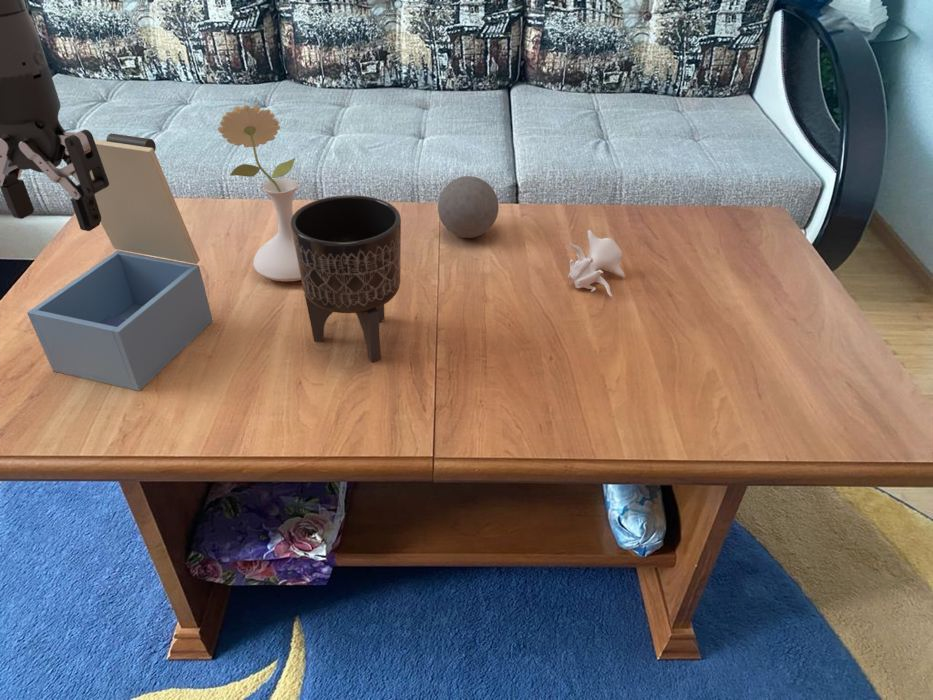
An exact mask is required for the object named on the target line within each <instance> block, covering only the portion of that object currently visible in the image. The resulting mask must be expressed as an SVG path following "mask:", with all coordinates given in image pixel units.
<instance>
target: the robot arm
mask: <svg viewBox="0 0 933 700" xmlns="http://www.w3.org/2000/svg"><path fill="white" fill-rule="evenodd" d="M51 73H52V72H51V70H50V67H49V64H48V61H47V58H46V54H45V51H44V48H43V44H42V41H41V39H40V36H39V33H38V31H37V29H36V26H35V24H34V22H33V21H32V18H31V16H30V14H29V11H28V8H27V5H26V2H25V0H0V191H1V194H2V196H3V198H4V201H5V203H6V206H7V208H8V210H9V211H10V212H11V215H12V217H13V218H14V219H20V220H23V219H25V218H27V217H28V216H30V215H32V214H33V213H34V211H35V208H34V205H33V202H32V199H31V197H30V194H29V192H28V190H27V187H26V186H27V185H26V184H25V181H24V180H23V179H20V178H21V175H22V172H23V171H26V170H32V171H33V172H37V173H42V174H44V175H46V177H47V178H48V179H49V180H50V181H51V182H53V183H55V184H56V183H57V184H59V185H60V186H61V187H62V188H63V189H64V191H65V192H66V193H68V195H69V196H70V197H71V198H70V202H71V204H72V208H73V211H74V214H75V217H76V220H77V224H78V226H79V228H80V230H81V231H85V232H91V231H92V230H94V229H96V228H97V227H99V226H100V225H101V214H100V211H99V209H98V205H97V202H96V198H95V193H97V192H99V191H101V190H103V189H105V188H107V187H108V186H109V181H108V178H107V175H106V173H105V170H104V167H103V164H102V161H101V158H100V155H99V153H98V150H97V147H96V144H95V141H94V140H95V139H94V136H93V133H91V131H89V130H88V129H82V130H81V131H77V132H71V131H70V132H69V131H66V129H64V127H63V126H62V124H61V122H60V121H59V114H60V111H61V102H60V98H59V95H58V92H57V89H56V85H55V83H54V80H53V76H52V74H51ZM62 161H63V162H64V163H65V164H66V165H65V166H63V167H61V168H58V167H59V166H60V165H61V164H62ZM91 170H92V173H93V176H94V179H92V178H91V175H90V171H91ZM70 176H71V177H73V178H74V179H75V180H76V181H77V182H78V183H77V184H76V183H75V182H74V180H72V178H71V177H70Z"/></svg>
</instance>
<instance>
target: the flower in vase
mask: <svg viewBox="0 0 933 700" xmlns="http://www.w3.org/2000/svg"><path fill="white" fill-rule="evenodd" d="M275 116H276V115H275V114H274V113H272V111H271V109H261V107H260V106H259V105H258V104H254V105H252V106H251V107H250V105H248V104H244V105H243V106H242V107H240V106H234V107H233V109H232V111H226V112H225V115H223V116H222V117H221V120H220V122H219V124H220V126H218V127H217V130H218V132H219V133H220V134H221V137H222V138H223V139H226V142H227V143H229V144H230V145H234V146H235V147H240V146H243V147H244V148H252V149H253V154H254V159H255V163H256V165H252V164H250V163H249V164H248V163H242V164H240V165H239V164H238V165H237V166H236V167H235V168H233V170H232V171H231V173H230V176H238V177H247V178H253V177H255V176H256V175H257V174H258V173H260V172H262V173H263V174H264V175H265V177H267V178H268V180H267V181H265V182H264V183H263V184H262V186H261V188H262V190H263V191H264V192H265V193H266V194H267V195H268V196H269V197H270V199H271V201H272V203H273V206H274V209H275V212H276V217H277V225H278V227H277V232H276V234H275V235H274V236H273V237H271V238H270V239H269V240H268V241H266V242H265V243H264V244H263V245H261V247H260V248H259V249H258V250H257V251H256V253H255V255H254V257H253V263H252V265H253V269H255V271H256V272H257V273H259V274H260V275H261V276H262V277H264V278H266V279H269V280H272V281H275V282H276V281H277V282H295V281H302V280H301V275H300V270H299V265H298V260H297V255H296V250H295V245H294V240H293V235H292V230H291V225H290V222H291V218H292V216H293V215H294V214H293V213H294V212H293V199H294V196H295V192H296V191H297V189H298V187H299V182H298V181H297V180H295V179H294V178H293V179H292V178H288V177H284V176H286V175H287V174H288V173H289V172H290V171H291V170H292V168H293V166H294V164H295V161H296V157H293V158H291V159H289V160H287V161H284V162H281V163H279V164H278V165H276V166H275V168H274V170H273V171H272V173H271V174H272V175H271V176H270V174H268V172H267V171H266V170H264V168H263V167H262V165H261V164H260V162H259V158H258V154H257V150H256V148H257V147H259V146H260V145H262V146H263V145H264V146H265V145H266V144H267V143H268V142H271V141H272V142H273V141H274V140H275V139H276V135H278V133H279V132H278V131H279V130H280V129H281V126H280V125H279V124H280V122H279V120H278V119H276V117H275Z"/></svg>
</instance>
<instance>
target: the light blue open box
mask: <svg viewBox="0 0 933 700" xmlns="http://www.w3.org/2000/svg"><path fill="white" fill-rule="evenodd" d="M26 314H27V316H28V318H29V321H30V323H31V325H32V328H33V329H34V332H35V334H36V336H37V338H38V340H39V343H40V346H41V348H42V350H43V352H44V354H45V357H46V359H47V361H48V363H49V367H50V368H51V371H53V372H56V373H61V374H65V375H68V376H74V377H77V378H82V379H85V380H90V381H95V382H99V383H102V384H107V385H111V386H116V387H119V388H123V389H129V390H132V391H137V392H140V391H141V390H142V389H144V387H146V385H148V384H149V383H150V382H151V381H152V380H153V379H154V378H155V377H156V376H157V375H158V374H159V373H161V371H162V370H163V369H164V368H165V367H166V366H167V365H169V364H170V362H172V361H173V360H174V359H175V358H176V357H177V356H178V355H179V354H180V353H181V352H182V351H183V350H184V349H185V348H187V347H188V345H189V344H191V342H192V341H194V340H195V339H196V338H197V337H198V336H199V335H200V334H201V333H202V332H203V331H204V330H205V329H206V328H207V327H208V326H209V325H211V323H212V322H213V321H214V319H213V316H212V313H211V308H210V304H209V300H208V296H207V291H206V287H205V283H204V280H203V276H202V272H201V267H200V265H198V264H194V263H189V262H183V261H178V260H173V259H167V258H162V257H156V256H151V255H145V254H140V253H135V252H129V251H124V250H118V249H116V250H115V251H114V252H113V253H111V254H110V255H108V256H107V257H105V258H104V259H102V260H101V261H99V262H98V263H96V264H95V265H93V266H92V267H91V268H89V269H88V270H86V271H85V272H83V273H82V274H80V275H79V276H78V277H76V278H74V279H73V280H72V281H70V282H69V283H68V284H66V285H64V286H63V287H62V288H60V289H59V290H57V291H55V292H54V293H53V294H50V296H48V297H47V298H46V299H44V300H42V301H41V302H40V303H38V304H36V305H35V306H34V307H32V308H31V309H30V310H27V312H26ZM107 316H110V317H115V318H120V319H125V321H124V322H123V323H122V324H121V325H119V326H118V327H114V326H110V325H105V324H100V322H101V321H102V320H103V319H105V318H106V317H107Z"/></svg>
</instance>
